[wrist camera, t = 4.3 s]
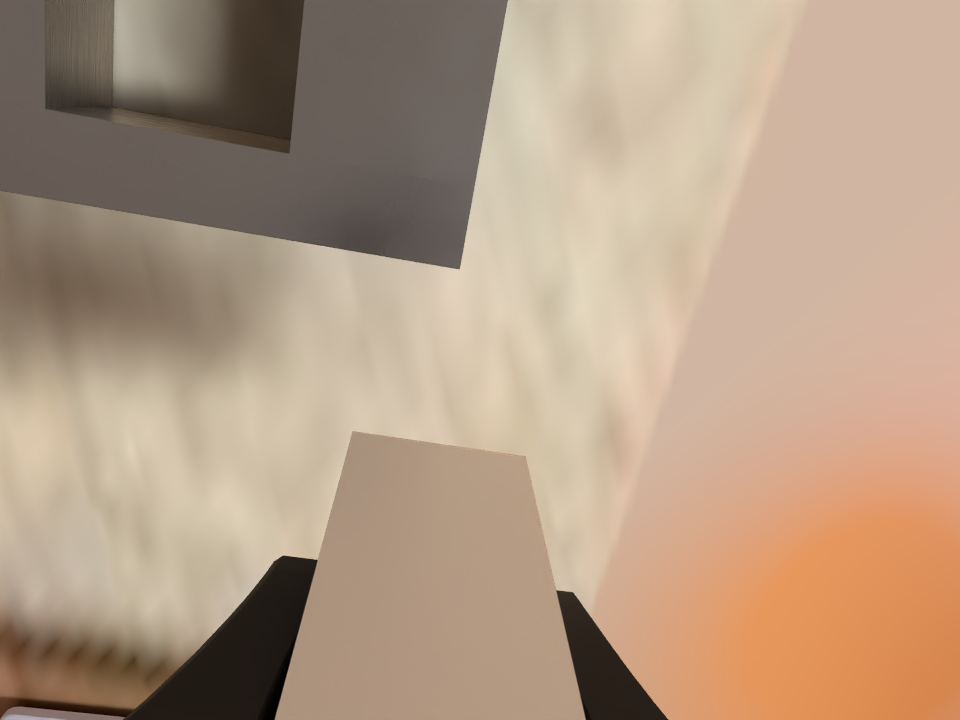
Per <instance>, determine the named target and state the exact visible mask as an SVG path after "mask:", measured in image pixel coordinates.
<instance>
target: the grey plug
mask: <svg viewBox="0 0 960 720" xmlns="http://www.w3.org/2000/svg"><path fill="white" fill-rule="evenodd" d="M275 720H586V719H585V714H584V710H583V706H582V701H581V697H580V693H579V688H578V684H577V679H576V675H575V671H574V666H573V662H572V658H571V653H570V649H569V645H568V640H567V636H566V631H565V627H564V623H563V618H562V614H561V610H560V605H559V601H558V596H557V592H556V588H555V583H554V579H553V575H552V570H551V566H550V561H549V557H548V553H547V548H546V544H545V540H544V535H543V531H542V527H541V522H540V518H539V513H538V509H537V505H536V500H535V496H534V492H533V487H532V483H531V478H530V474H529V470H528V465H527V461H526V457H525V456H518V455H511V454H504V453H497V452H491V451H484V450H477V449H470V448H463V447H456V446H450V445H443V444H436V443H429V442H422V441H415V440H409V439H402V438H395V437H388V436H381V435H375V434H368V433H361V432H354V431H353V432H352V436H351V440H350V443H349V447H348V451H347V454H346V458H345V462H344V466H343V469H342V473H341V477H340V480H339V484H338V488H337V491H336V495H335V499H334V503H333V506H332V510H331V514H330V517H329V521H328V525H327V528H326V532H325V536H324V539H323V543H322V547H321V551H320V554H319V558H318V562H317V565H316V569H315V573H314V576H313V580H312V584H311V588H310V591H309V595H308V599H307V602H306V606H305V610H304V613H303V617H302V621H301V625H300V628H299V632H298V636H297V639H296V643H295V647H294V650H293V654H292V658H291V662H290V665H289V669H288V673H287V676H286V680H285V684H284V687H283V691H282V695H281V699H280V702H279V706H278V710H277V713H276V717H275Z"/></svg>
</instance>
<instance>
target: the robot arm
mask: <svg viewBox="0 0 960 720" xmlns="http://www.w3.org/2000/svg"><path fill="white" fill-rule="evenodd" d="M317 562H318V560H314V559H306V558H298V557H290V556H282V557H280V558H279V559H277V560H276V561H274V562H273V564H272V565H271V567H270V568H269V570H268V571H267V572H266V574H265V575H264V576H263V577H262V579H261V580H260V581H259V583H258V584H257V585H256V586H255V588H254V589H253V590H252V591H251V592H250V594H249V595H248V596H247V597H246V598H245V600H244V601H243V602H242V603H241V604H240V605H239V606H238V608H237V609H236V610H235V611H234V612H233V613H232V615H231V616H230V617H229V618H228V619H227V620H226V621H225V622H224V623H223V624H222V625H221V626H220V627H219V628H218V629H217V631H216V632H215V633H214V634H213V635H212V636H211V637H210V638H209V639H208V640H207V641H206V642H205V643H204V644H203V645H202V646H201V648H200V649H199V650H198V651H197V652H196V653H195V654H194V655H193V656H192V657H191V658H190V659H188V660H187V661H186V662H185V663H184V664H183V665H182V666H181V667H180V668H179V669H178V670H177V671H176V672H175V673H174V674H173V675H172V676H170V677H169V678H168V679H167V680H166V681H165V682H164V683H163V684H162V685H161V686H160V687H159V688H158V689H157V690H156V691H155V692H154V693H153V694H151V695H150V696H149V697H148V698H147V699H146V700H145V701H144V702H143V703H141V704H140V705H139V706H138V707H137V708H136V709H134V710H133V711H132V712H131V713H130V714H129V715H128V716H126V717H118V716H108V715H98V714H88V713H78V712H69V711H59V710H49V709H39V708H29V707H13V708H10V709H8V710H7V711H6V712H5V713H4V715H3V716H2V717H1V719H0V720H275V717H276V713H277V710H278V706H279V702H280V699H281V695H282V691H283V687H284V684H285V680H286V676H287V673H288V669H289V665H290V662H291V658H292V654H293V650H294V647H295V643H296V639H297V636H298V632H299V628H300V625H301V621H302V617H303V613H304V610H305V606H306V602H307V599H308V595H309V591H310V588H311V584H312V580H313V576H314V573H315V569H316V565H317ZM556 592H557V596H558V601H559V605H560V610H561V614H562V618H563V623H564V627H565V631H566V636H567V640H568V645H569V649H570V653H571V658H572V662H573V666H574V671H575V675H576V679H577V684H578V688H579V693H580V697H581V701H582V706H583V710H584V714H585V719H586V720H668V719H667V718H666V716H665V715H664V714H663V713H662V712H661V710H660V709H659V708H658V707H657V706H656V704H655V703H654V702H653V701H652V699H651V698H650V697H649V695H648V694H647V693H646V691H645V690H644V689H643V688H642V686H641V685H640V684H639V682H638V681H637V680H636V679H635V677H634V676H633V675H632V673H631V672H630V671H629V669H628V668H627V667H626V665H625V664H624V663H623V661H622V660H621V659H620V657H619V656H618V654H617V653H616V652H615V650H614V649H613V648H612V646H611V645H610V643H609V642H608V641H607V640H606V638H605V637H604V635H603V634H602V632H601V631H600V629H599V628H598V627H597V625H596V624H595V622H594V621H593V620H592V618H591V617H590V615H589V614H588V613H587V611H586V610H585V608H584V607H583V606H582V604H581V603H580V601H579V600H578V599H577V597H576V596H575V595H574V593H573V592H565V591H557V590H556Z"/></svg>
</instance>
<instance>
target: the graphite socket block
mask: <svg viewBox="0 0 960 720" xmlns="http://www.w3.org/2000/svg"><path fill="white" fill-rule="evenodd" d="M507 1H508V0H304V8H303V18H302V28H301V39H300V49H299V59H298V70H297V80H296V91H295V101H294V111H293V122H292V132H291V140H287V139H282V138H276V137H271V136H265V135H260V134H255V133H249V132H244V131H238V130H233V129H228V128H222V127H217V126H212V125H206V124H201V123H195V122H190V121H185V120H179V119H174V118H168V117H163V116H158V115H152V114H147V113H141V112H136V111H131V110H125V109H120V108H115V107H112V83H113V33H114V0H0V191H6V192H11V193H17V194H23V195H29V196H35V197H41V198H46V199H52V200H58V201H64V202H70V203H76V204H81V205H87V206H93V207H99V208H105V209H111V210H116V211H122V212H128V213H134V214H140V215H146V216H151V217H157V218H163V219H169V220H175V221H181V222H186V223H192V224H198V225H204V226H210V227H216V228H221V229H227V230H233V231H239V232H245V233H251V234H256V235H262V236H268V237H274V238H280V239H286V240H291V241H297V242H303V243H309V244H315V245H321V246H326V247H332V248H338V249H344V250H350V251H356V252H361V253H367V254H373V255H379V256H385V257H391V258H396V259H402V260H408V261H414V262H420V263H426V264H431V265H437V266H443V267H449V268H455V269H460V264H461V259H462V253H463V248H464V242H465V236H466V231H467V225H468V220H469V214H470V208H471V203H472V197H473V192H474V186H475V180H476V175H477V169H478V164H479V158H480V152H481V147H482V141H483V136H484V130H485V124H486V119H487V113H488V108H489V102H490V96H491V91H492V85H493V80H494V74H495V68H496V63H497V57H498V52H499V46H500V41H501V35H502V29H503V24H504V18H505V13H506V7H507Z"/></svg>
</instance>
